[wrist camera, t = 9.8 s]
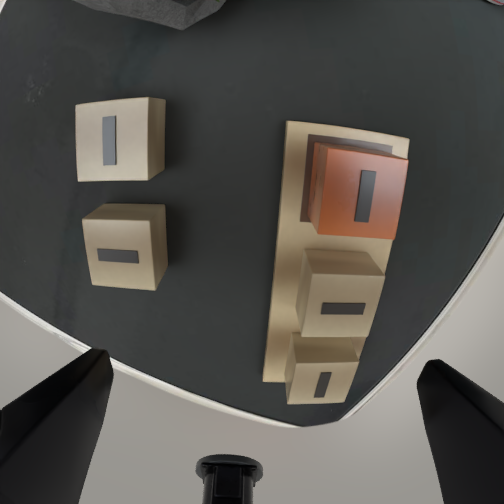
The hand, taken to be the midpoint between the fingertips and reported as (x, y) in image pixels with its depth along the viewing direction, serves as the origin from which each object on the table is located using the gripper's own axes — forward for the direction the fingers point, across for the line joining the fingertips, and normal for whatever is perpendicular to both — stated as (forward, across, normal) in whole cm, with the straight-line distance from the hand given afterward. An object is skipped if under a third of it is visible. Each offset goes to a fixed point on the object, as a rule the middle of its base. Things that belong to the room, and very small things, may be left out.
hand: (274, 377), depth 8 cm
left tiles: (+12, +8, -2) cm, 14 cm away
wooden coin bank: (+11, -4, -3) cm, 12 cm away
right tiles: (+11, -4, +6) cm, 13 cm away
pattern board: (+12, -4, +3) cm, 13 cm away
